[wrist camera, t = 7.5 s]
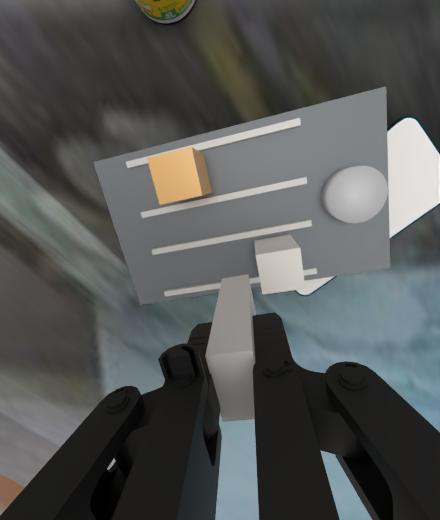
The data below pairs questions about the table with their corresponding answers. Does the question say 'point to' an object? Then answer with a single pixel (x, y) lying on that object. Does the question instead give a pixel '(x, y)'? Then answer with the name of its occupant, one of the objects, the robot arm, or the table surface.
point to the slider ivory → (279, 264)
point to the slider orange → (179, 175)
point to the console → (260, 200)
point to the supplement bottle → (165, 9)
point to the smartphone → (405, 180)
